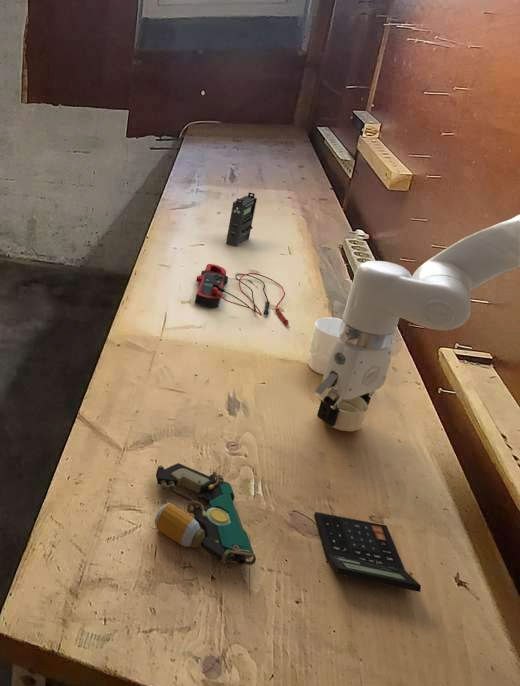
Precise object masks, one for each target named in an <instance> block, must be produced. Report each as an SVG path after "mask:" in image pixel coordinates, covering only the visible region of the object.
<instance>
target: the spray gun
mask: <svg viewBox="0 0 520 686" xmlns="http://www.w3.org/2000/svg"><path fill="white" fill-rule="evenodd" d="M155 477H156V482H157V483H156V484H157V485H159V486H160V487H161V490H162V491H164V492H165V491H167V490H168V489H169V490H170V492H171V493H173V494H174V495H175V496H177V497H179V498H182V499H183V500H186V501H187V502H188V503H187V506H186V511H187V512H188V514H187V512H185V511H183V510H182V509H180V508H179V507H177V506H176V505H174V504H173V503H170V502H168V503H165V504H163V505H161V507H160V508H159V510H158V511H157V512H156V515H155V518H154V525H155V529H156V530H157V531H159V532H161V533H162V534H164V535H165V536H166V537H168V538H170V539H171V540H173V541H174V542H176V543H178V545H181V546H182V547H186V548H188V547H192V548H193V549H197V548H199V547H201V548H202V549H203V550H204V551H206V552H208V553H209V554H210V555H211V556H213V557H214V558H216V559H217V560H218V561H220V562H221V563H222V564H224V565H225V564H226V563H227V562H229V563H235V564H239V565H248V566H252V565H255V563H256V561H257V557H256V554H255V553H254V550H253V547H252V544H251V541H250V538H249V536H248V535H249V534H248V533H247V531H246V530H245V529H244V527H243V523H242V521H241V518H240V516H239V512H238V511H237V510H236V507H235V504H234V501H235V493H234V489H233V487H232V484H230V483H229V482H227V481H224V477H223V475H221V474H218V472H217V471H213V472H212V474H210V475H207V474H205V473H203V472H201V471H197V469H193V468H191V467H190V466H189V467H188V466H186V465H184V464H181V463H179V462H178V463H174V464H172V465H171V466H168V467H166V468H165V467H164V466H163V465H158V466H157V469H156V472H155ZM180 486H182V487H185V488H187V489H188V490H190V491H193V492H194V493H197V494H199V496H198V499H199V500H201V499H202V500H205V501H207V502H208V504H207V505H205V506H204V505H203V504H202V502H200V501H197V500H195V499H194V498H192V497H191V496H189V495H188V494H185V493H183V492H181V491H178V490H177V488H179V487H180ZM191 507H193V509H191ZM189 514H193V516H191V515H189ZM251 558H252V560H249V559H251ZM248 560H249V561H248Z"/></svg>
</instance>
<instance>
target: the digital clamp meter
mask: <svg viewBox="0 0 520 686" xmlns="http://www.w3.org/2000/svg"><path fill="white" fill-rule="evenodd" d="M253 275H257V276H260V277H262V278H265V279H267V280H270V281H271V282H273V283H275V284H277V286H279V287H280V288H281V290H282V291H283V296H282V297H281V299H280V300H279V301H278V302H277V304H276V306H275V312H276V313H277V314H278V316H279V317H280V319H281V320H282V322H283V324H285V325H286V326H288V327H289V328H291V326H290V325H289V320H288V319H287V318H286V316H285V315H284V314H283V313H282V311H281V310H280V308H278V307H279V305H280V303H282V301H283V299H284V298H285V296H286V292H285V290H284V286H282V285H281V284H280V283H278V282H277V281H276V280H274V279H272V278H270V277H267V276H265V275H263V274H260V273H256V272H249V273H246V274H245V273H237V274H235V276H234V278H235V280H236V281H238V286H239V290H240V292H241V293H242V294H243V295H244V297H246V298H247V299H248V300H249V301H250V302H251V304H253V308H252V307H250V306H249V305H248V304H247V303H246V302H244V301H243V300H242V299H240V298H238V296H236V295H234V294H231V293H229V292H228V291H226V289H225V288H224V286H226V285H227V284H228V280H229V276H227V270H226V268H224V267H222V266H220V265H218V264H213V263H208V264H206V266H205V269H204V270H201V273H200V275H197V276H196V279H195V281H196V283H199V286H198V289H197V292H196V295H195V301H194V302H195V304H197V305H199V306H201V307H207V308H219V305H220V302H221V298H222V299H223V301H225V302H227V303H231V304H233V305H237V306H241V307H243V308H247V309H249V310H251V311H252V312H253V313H257V315H259V316H260V317H262V316H263V314H264V318H267V316H268V315H269V308H270V303H271V302H270V301H269V298H268V296H267V294H266V291H265V287H266V284H265V282H264V281H263V280H262V279H260V278H258V277H256V276H253ZM237 276H240V277H239V278H238V277H237ZM246 276H248V277H251V278H254V279H256V280H258V281H259V282H261V283H262V284H263V287H262V291H263V294H264V296H265V299H266V301H265V307H264V311H263V314H262V312H261V310H260V308H259V307H258V306H257V305H256V303H255V298H254V291H253V289H252V288H251V287H250V286H249V285H248V284H246V283H244V282H243V281H242V278H243V277H246ZM241 284H242V285H244V286H245V287H247V288H248V289H249V290H250V292H251V298H250V297H249V296H248V294H246V293H245V292H244V291H243V289H242V285H241ZM222 293H226V294H228V295H229V296H231V297H233V298H235V299H236V300H238V301H240V302H241V303H242V304H241V303H237V302H233V301H230V300H228V299H226V298H225V297H224V296H222ZM243 304H244V305H243Z"/></svg>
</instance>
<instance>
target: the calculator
mask: <svg viewBox="0 0 520 686" xmlns="http://www.w3.org/2000/svg"><path fill="white" fill-rule="evenodd" d="M313 517H314V521H315V523H316V528H317V530H318V531H317V532H318V535H319V538H320V542H321V545H322V549H323V553H324V556H325V559H326V560H327V562H328V563H329V564H330V566H331V567H332V568H333V570H334V571H335V572H336V574H337V575H339V576H344V577H349V578H352V579H353V578H354V579H357V580H361V581H368V582H371V583H376V584H380V585H386V586H390V587H395V588H400V589H404V590H409V591H412V592H416V593H417V592H418V593H421V587H422V585H421V584H420V583H419V582H418V581H417V580H416V579H415V578H414V577H413V576H412V575H411V574H410V573H408V572H407V570H406V569H405V566H404V564H403V562H402V559H401V557H400V555H399V552H398V550H397V547H396V544H395V542H394V540H393V538H392V536H391V532H390V530H389V528H388V526H387V525H386V524H381V523H376V522H371V521H366V520H365V521H364V520H360V519H354V518H351V517H350V518H349V517H344V516H341V515H340V516H339V515H334V514H329V513H325V512H318V511H315V512H314V514H313Z"/></svg>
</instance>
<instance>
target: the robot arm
mask: <svg viewBox="0 0 520 686" xmlns="http://www.w3.org/2000/svg"><path fill="white" fill-rule="evenodd" d="M518 268H520V213H519V214H517V215H516V216H514V217H512V218H510V219H507V220H504V221H502V222H498V223H497V224H493V225H492V226H489V227H487V228H484V229H481V230H479V231H477V232H474V233H472V234H470V235H468V236H466V237H463V238H462V239H460V240H458V241H456V242H454V243H453V244H451V245H450V246H448V247H447V248H445V249H444V250H442V251H440V252H438V253H437V254H436V255H434V256H432V257H431V258H429V259H427V260H426V261H424V262H423V263H422V264H421V265H420V266H419V267H418V268H416V270H414V272H413V274H411V272H410V271H409V270H408V269H406V267H404V266H402V265H400V264H397V263H394V262H390V261H386V260H385V261H384V260H368V261H364V262H362V263H361V264H359V265H358V266H357V268H356V270H355V273H354V274H353V275H354V276H353V279H352V283H351V286H350V290H349V294H348V297H347V301H346V304H345V307H344V312H343V316H342V318H341V319H342V322H341V326H340V329H339V333H338V336H339V338H338V339H337V341H336V344H335V346H334V348H333V350H332V352H331V355H330V357H329V360H328V363H327V366H326V369H325V372H324V375H323V376H322V382H321V383H320V384H319V385H318V386H317V388H316V389H314V394H315V396H316V397H317V398H318V400H319V401H320V404H319V407H318V410H317V414H316V416H317V418H318V419H320V420H321V421H323V422H324V423H325V424H327V425H328V426H329V425H330V426H329V427H331V428H333V427H332V426H335V423H336V420H337V416H338V413H339V410H340V409H339V408H338V405H339V404H340V402H341V401H342V399H352V398H355V397H358V396H359V397H361V398H363V399H364V401H365V402H366V403H367V405H368V406H369V405H370V402H371V398H372V396H373V395H374V394H375V391H377V390H379V389H381V388H382V387H383V386H384V385H385V381H386V379H387V375H388V371H389V368H390V364H391V360H392V359H391V358H392V354H393V340H394V337H395V334H396V331H397V327H398V325H399V321H400V319H402V320H405V321H408V322H410V323H413V324H415V325H417V326H420V327H424V328H426V329H430V330H435V331H451V330H455V329H458V328H461V326H463V325H465V324H466V322H468V320H469V319H470V317H471V313H472V290H474V289H476V288H478V287H480V286H481V285H483V284H485V283H486V282H488V281H490V280H492V279H495V278H497V277H498V276H500V275H502V274H505V273H507V272H509V271H512V270H515V269H518ZM335 386H336V388H335ZM331 392H333V393H335V394H337V396H336V398H335V399H334V401H333V400H332V399H331V398H330V397H329V395H330V393H331Z"/></svg>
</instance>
